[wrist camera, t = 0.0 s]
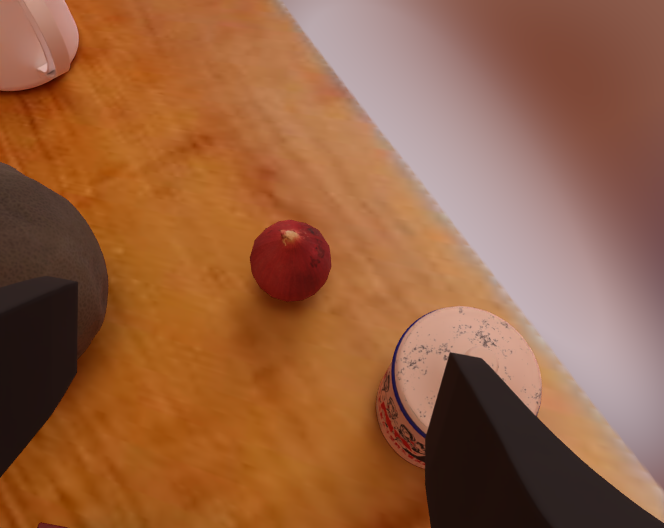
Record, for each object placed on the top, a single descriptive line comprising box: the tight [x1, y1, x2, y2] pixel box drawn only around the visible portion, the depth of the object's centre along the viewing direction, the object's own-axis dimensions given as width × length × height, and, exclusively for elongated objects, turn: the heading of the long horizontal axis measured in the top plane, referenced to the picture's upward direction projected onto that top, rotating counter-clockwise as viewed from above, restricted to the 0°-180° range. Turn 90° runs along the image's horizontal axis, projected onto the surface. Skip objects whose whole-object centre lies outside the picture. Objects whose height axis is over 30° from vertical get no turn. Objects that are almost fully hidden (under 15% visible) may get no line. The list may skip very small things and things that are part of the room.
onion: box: [250, 220, 331, 302], centre depth 44 cm, size 6×6×8 cm
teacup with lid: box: [376, 306, 542, 469], centre depth 39 cm, size 12×9×12 cm
